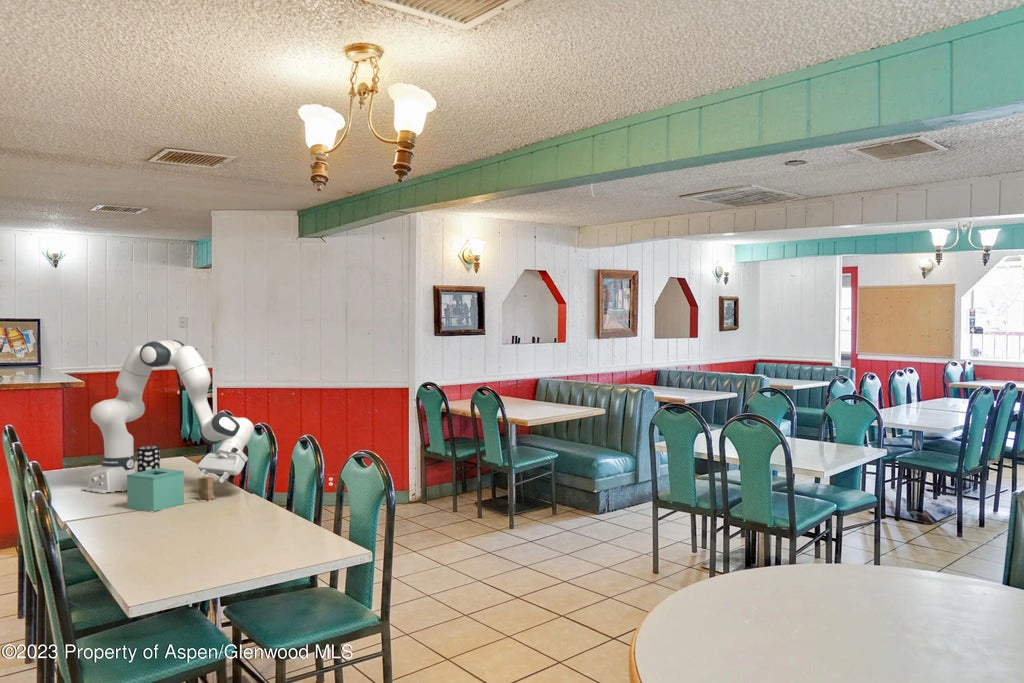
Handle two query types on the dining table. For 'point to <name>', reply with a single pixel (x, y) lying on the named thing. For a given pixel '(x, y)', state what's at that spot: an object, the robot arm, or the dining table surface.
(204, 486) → the brown rectangular block
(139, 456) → the white-spotted black cylinder
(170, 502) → the box
